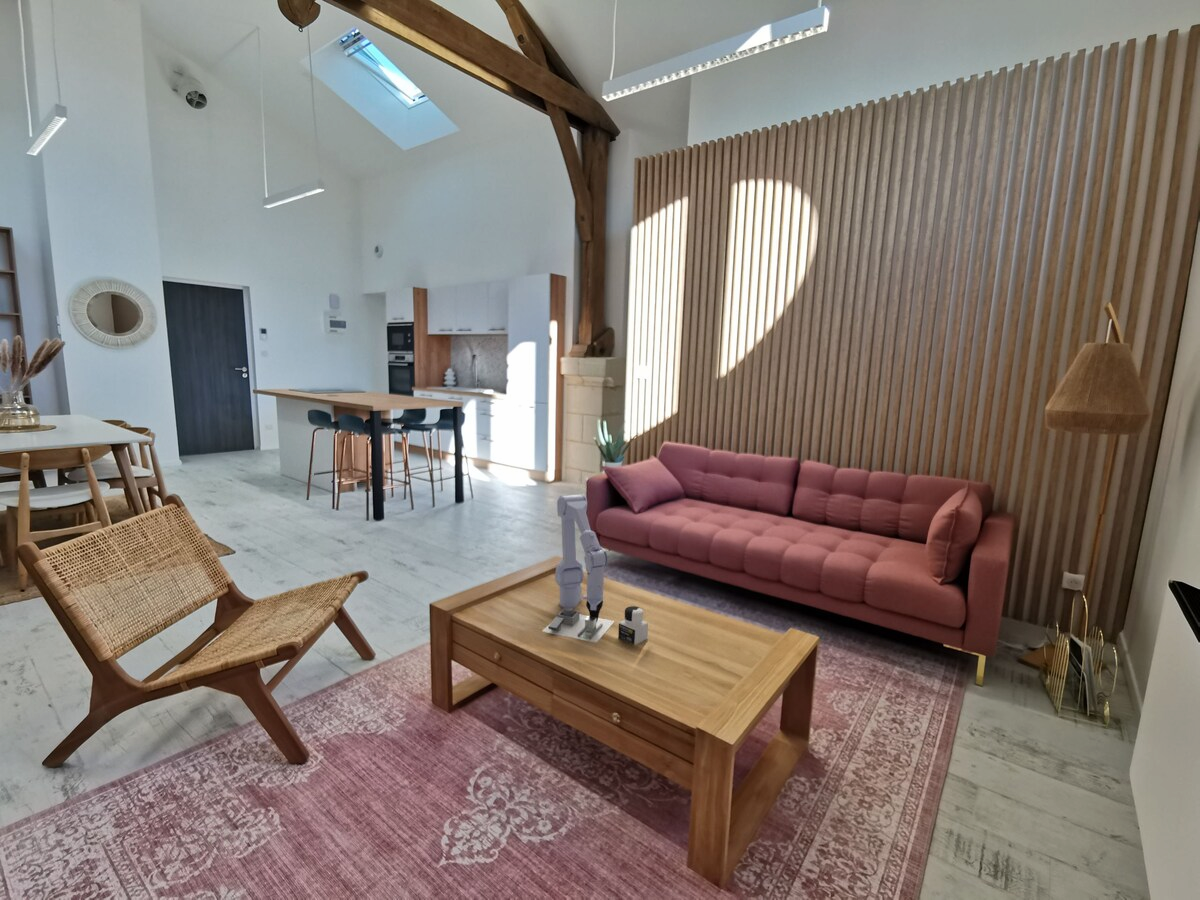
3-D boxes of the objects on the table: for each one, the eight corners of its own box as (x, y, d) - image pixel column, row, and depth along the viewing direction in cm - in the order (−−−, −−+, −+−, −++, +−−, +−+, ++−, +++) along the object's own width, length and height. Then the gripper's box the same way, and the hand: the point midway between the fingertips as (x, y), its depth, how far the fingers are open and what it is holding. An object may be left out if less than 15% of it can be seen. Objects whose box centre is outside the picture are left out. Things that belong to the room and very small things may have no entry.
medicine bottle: (617, 642, 197) (618, 608, 195) (631, 635, 202) (632, 602, 200) (634, 649, 192) (635, 615, 190) (647, 642, 197) (649, 608, 195)
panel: (563, 615, 217) (563, 603, 216) (614, 624, 210) (614, 613, 209) (541, 635, 200) (541, 623, 199) (596, 646, 193) (596, 634, 192)
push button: (565, 616, 211) (565, 606, 210) (575, 618, 209) (576, 608, 209) (560, 621, 207) (561, 610, 207) (571, 623, 206) (571, 612, 205)
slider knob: (588, 626, 203) (588, 615, 203) (596, 628, 202) (596, 617, 201) (584, 630, 200) (585, 619, 200) (592, 632, 199) (593, 620, 199)
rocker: (556, 619, 204) (555, 616, 204) (563, 620, 203) (563, 618, 203) (548, 628, 199) (548, 626, 199) (556, 630, 198) (556, 628, 198)
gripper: (585, 576, 209) (584, 612, 211) (581, 591, 195) (580, 630, 197) (605, 577, 209) (603, 613, 211) (602, 592, 195) (601, 631, 197)
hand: (594, 621), depth 204 cm, fingers closed
